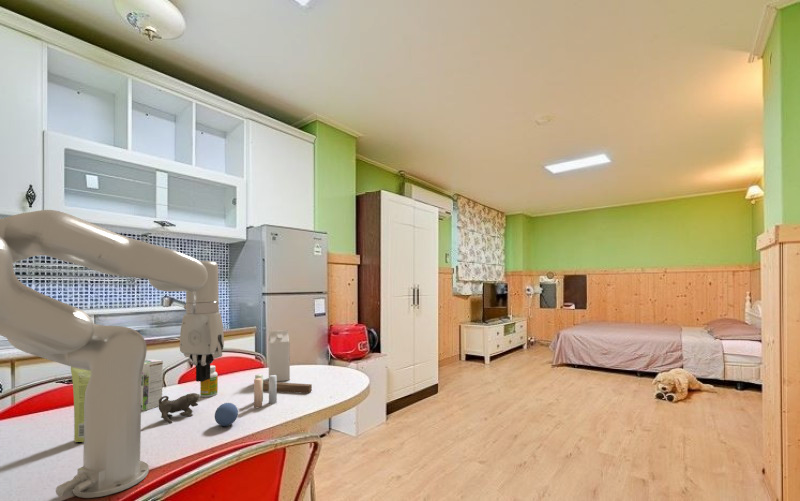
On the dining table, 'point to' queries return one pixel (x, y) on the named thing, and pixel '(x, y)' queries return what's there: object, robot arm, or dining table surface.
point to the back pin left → (262, 382)
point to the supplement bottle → (210, 384)
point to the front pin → (258, 392)
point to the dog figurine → (177, 405)
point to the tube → (79, 400)
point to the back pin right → (272, 389)
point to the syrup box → (151, 384)
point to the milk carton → (279, 355)
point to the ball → (226, 414)
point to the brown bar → (290, 387)
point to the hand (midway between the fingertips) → (203, 379)
